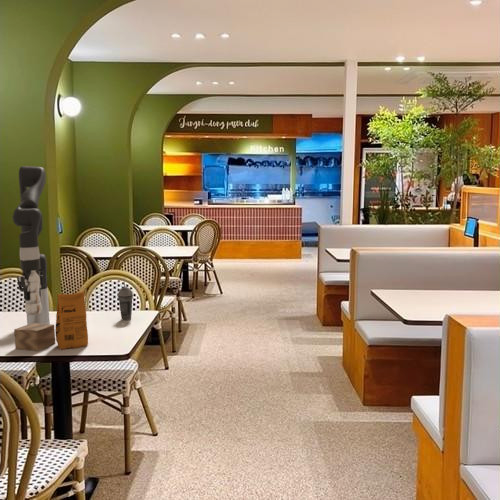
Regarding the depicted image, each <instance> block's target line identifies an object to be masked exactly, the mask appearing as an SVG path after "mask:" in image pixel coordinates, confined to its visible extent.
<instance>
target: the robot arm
mask: <svg viewBox="0 0 500 500" xmlns="http://www.w3.org/2000/svg"><path fill="white" fill-rule="evenodd" d="M46 178H47V177H46V170H45V168H44V167H41V166H29V165H28V166H27V165H22V166H20V167H19V168H18V185H19V193H20V194H19V195H20V197H19V198H20V202H19V204H18V205H17V206H16V208H15V209H14V210H13V213H12V220H13V224H15V225H16V227H17V226H18V227H20V229H21V230H20V231H21V232H20V233H19V236H18V240H19V264H20V270H21V271H22V275H20V276H17V278H16V280H17V284H18V285H17V286H18V289H19V291H20V292H23V298H24V299H23V300H24V301H25V302H26V301H29V300H30V292H29V290H30V286H31V282H29V283H28V284H25V278H26V279H27V280H28V279H29V276H30V274H31V271H33V270H35V271H36V273H37V274H38V275H39V277H40V285H39V295H40V302H41V306H42V311H41V313H39V314H36V315H29V314H27V313H26V323H27V324H26V325H28V324H31V323H39V324H50V306H49V294H48V293H49V292H48V291H49V289H48V275H47V273H48V272H47V271H48V269H47V268H48V263H47V258H46V255H45V254H44V253H40V248H39V236H40V235H41V233H42V231H43V227H44V226H43V223H44V222H43V213H42V212H41V210H40V208H39V201H40V197H41V195H42V193H43V191H44V187H45V184H46V181H47V179H46ZM32 276H33V275H32ZM26 286H27V288H26Z"/></svg>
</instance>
